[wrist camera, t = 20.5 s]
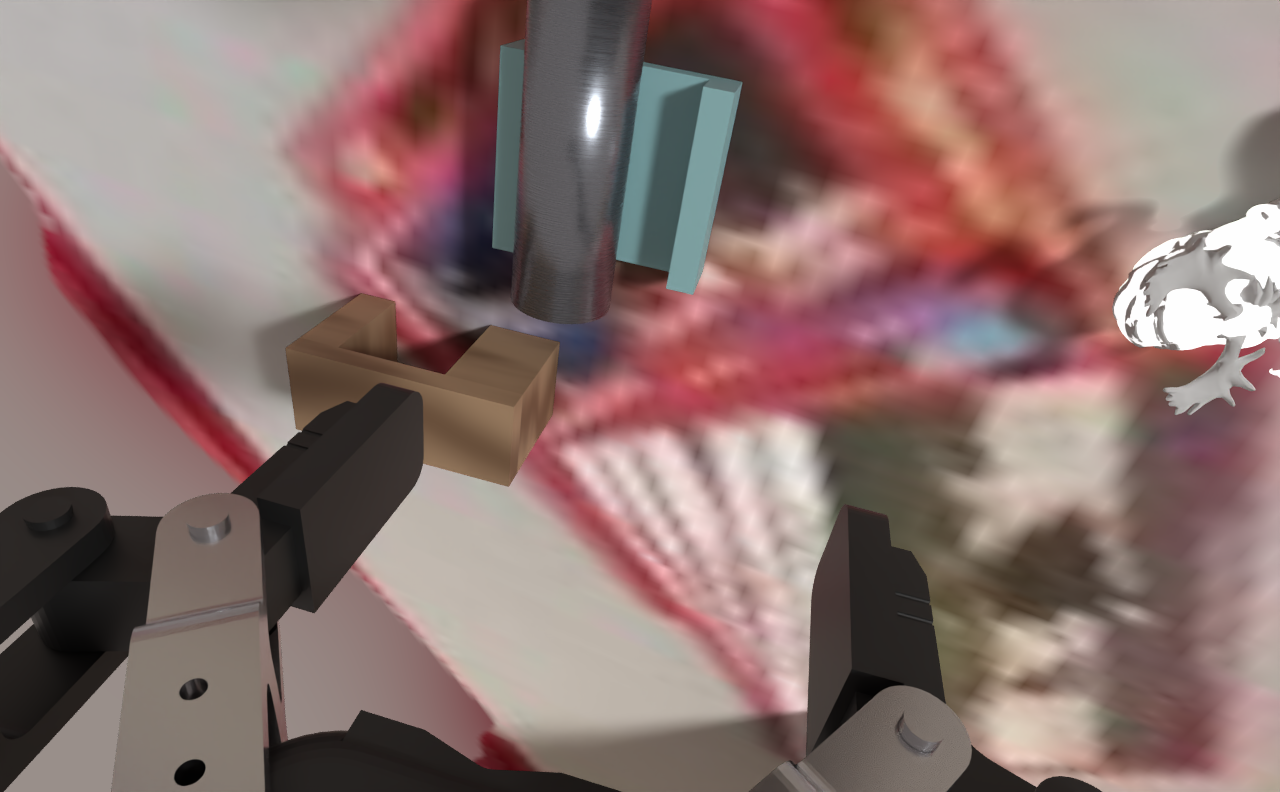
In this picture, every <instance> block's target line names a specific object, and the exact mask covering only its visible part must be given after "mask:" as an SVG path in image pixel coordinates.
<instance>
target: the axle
mask: <svg viewBox="0 0 1280 792" xmlns="http://www.w3.org/2000/svg"><path fill="white" fill-rule="evenodd" d="M651 3H652V0H527V14H526V32H525V50H524V68H523V86H522V104H521V122H520V140H519V158H518V176H517V194H516V212H515V230H514V248H513V266H512V284H511V301H512V303H513V304H514V306H515V307H516V308H517V309H518V310H520V311H521V312H523V313H525V314H527V315H529V316H531V317H533V318H536V319H539V320H543V321H547V322H552V323H560V324H580V323H587V322H591V321H595V320H597V319H600V318H601V317H603V316H604V315H605V314H606V313H607V312H608V311H609V308H610V301H611V293H612V286H613V279H614V271H615V264H616V257H617V250H618V242H619V235H620V228H621V221H622V213H623V206H624V199H625V192H626V184H627V177H628V170H629V163H630V155H631V148H632V141H633V134H634V126H635V119H636V112H637V105H638V97H639V90H640V83H641V76H642V68H643V61H644V54H645V46H646V39H647V32H648V25H649V17H650V10H651Z"/></svg>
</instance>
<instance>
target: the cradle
mask: <svg viewBox="0 0 1280 792" xmlns="http://www.w3.org/2000/svg"><path fill="white" fill-rule="evenodd" d="M524 50H525V39H522V40H519V41H515V42H511V43H508V44H504V45H501V46H500V70H499V95H498V119H497V144H496V168H495V193H494V217H493V242H492V248H496V249H500V250H504V251H509V252H513V248H514V230H515V212H516V194H517V176H518V158H519V140H520V122H521V104H522V86H523V68H524ZM741 87H742V82H740V81H735V80H730V79H725V78H720V77H715V76H710V75H705V74H700V73H695V72H690V71H685V70H680V69H675V68H670V67H665V66H661V65H656V64H651V63H646V62H643V68H642V76H641V83H640V90H639V97H638V105H637V112H636V119H635V126H634V134H633V141H632V148H631V155H630V163H629V170H628V177H627V184H626V192H625V199H624V206H623V213H622V221H621V228H620V235H619V242H618V250H617V257H616V260H620V261H624V262H629V263H633V264H637V265H642V266H646V267H650V268H655V269H659V270H663V271H668V272H669V276H668V281H667V287H666V289H671V290H675V291H679V292H683V293H688V294H692V295H693V293H694V291H695V289H696V286H697V284H698V281H699V279H700V276H701V274H702V272H703V267H704V262H705V258H706V253H707V248H708V243H709V239H710V234H711V229H712V224H713V220H714V215H715V210H716V205H717V201H718V196H719V191H720V186H721V182H722V177H723V172H724V167H725V163H726V158H727V153H728V149H729V144H730V139H731V134H732V130H733V125H734V120H735V115H736V111H737V106H738V101H739V96H740V92H741Z"/></svg>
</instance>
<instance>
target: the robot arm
mask: <svg viewBox="0 0 1280 792" xmlns="http://www.w3.org/2000/svg"><path fill="white" fill-rule="evenodd" d="M423 460H424V432H423V399H422V396H421V394H420V393H419V392H416V391H413V390H409V389H405V388H401V387H397V386H393V385H390V384H386V383H378V384H377V385H375V386H374V387H373V388H372V389H371V390H370V391H369V392H368V393H367V394H366V395H365V396H363V397H362V398H361V399H360V400H359V401H358V402H357V403H354V402H350V401H345V402H343V403H341V404H339V405H336V406H334V407H332V408H330V409H328V410H325V411H323V412H321V413H320V414H319V415H317V416H316V417H315V418H314V419H313V420H312V421H311V422H310V423H309V424H307V425H306V426H305V427H304V428H303V430H302V432H301V433H300V432H298V433H297V434H296V435H295V436H294V437H293V438H292V439H291V440H290V441H288V444H287V446H283V447H282V448H281V449H279V450H278V451H277V452H276V453H275V454H274V455H273V456H272V457H271V458H269V459H268V460H267V461H266V462H265V463H264V464H263V465H262V466H261V467H259V468H258V469H257V470H256V471H255V472H254V473H253V474H252V475H250V476H249V477H248V478H247V479H246V480H245V481H244V482H243V483H242V484H240V485H239V486H238V487H237V488H236V489H235V490H234V491H233V492H232V493H216V494H215V493H214V494H208V495H202V496H199V497H195V498H192V499H190V500H187V501H185V502H183V503H181V504H179V505H177V506H176V507H174V508H173V509H171V510H170V511H169V512H168V513H167V514H166V515H165V516H164V517H145V516H143V517H142V516H110V513H109V510H108V507H107V504H106V501H105V499H104V498H103V497H102V496H101V495H100V494H99V493H97V492H95V491H93V490H90V489H85V488H79V487H66V488H56V489H51V490H46V491H42V492H39V493H36V494H33V495H30V496H28V497H25V498H23V499H21V500H19V501H17V502H15V503H14V504H12V505H11V506H9V507H8V508H6V509H5V510H3V511H2V512H1V513H0V644H2V643H3V642H4V641H5V640H6V639H7V638H8V637H9V636H10V635H11V634H13V633H14V632H15V631H16V630H17V629H18V628H19V627H20V626H21V625H23V624H24V623H25V622H26V621H27V620H28V619H29V618H32V621H33V623H34V624H33V625H32V626H31V627H30V628H29V629H28V630H27V631H25V632H24V633H23V634H22V635H21V636H20V637H19V638H18V639H17V640H16V641H14V642H13V643H12V644H11V645H10V646H9V647H8V648H7V649H6V650H5V651H3V652H2V653H1V654H0V792H4V791H5V790H6V789H7V787H8V786H9V785H10V784H11V783H12V782H13V781H14V780H15V779H16V778H17V776H18V775H19V774H20V773H21V772H22V771H23V770H24V769H25V768H26V767H27V766H28V765H29V763H30V762H31V761H32V760H33V759H34V758H35V757H36V756H37V755H38V754H39V753H40V751H41V750H42V749H43V748H44V747H45V746H46V745H47V744H48V743H49V742H50V740H51V739H52V738H53V737H54V736H55V735H56V734H57V733H58V732H59V731H60V730H61V729H62V727H63V726H64V725H65V724H66V723H67V722H68V721H69V720H70V719H71V718H72V717H73V715H74V714H75V713H76V712H77V711H78V710H79V709H80V708H81V707H82V706H83V704H84V703H85V702H86V701H87V700H88V699H89V698H90V697H91V696H92V695H93V694H94V693H95V691H96V690H97V689H98V688H99V687H100V686H101V685H102V684H103V683H104V682H105V681H106V679H107V678H108V677H109V676H110V675H111V674H112V673H113V672H114V671H115V670H116V668H117V667H118V666H119V665H120V664H121V663H122V662H123V661H124V660H125V659H126V658H127V657H128V663H127V671H126V679H125V686H124V694H123V702H122V710H121V718H120V726H119V734H118V742H117V749H116V757H115V765H114V772H113V780H112V788H111V792H621V791H618V790H615V789H611V788H608V787H605V786H602V785H599V784H595V783H592V782H589V781H586V780H583V779H579V778H576V777H573V776H570V775H567V774H564V773H554V772H532V771H511V770H492V769H486V768H483V767H481V766H479V765H477V764H476V763H474V762H473V761H471V760H470V759H468V758H467V757H465V756H464V755H462V754H461V753H459V752H458V751H456V750H454V749H453V748H451V747H450V746H448V745H447V744H445V743H444V742H442V741H441V740H439V739H438V738H436V737H435V736H433V735H432V734H430V733H429V732H427V731H426V730H423V729H420V728H416V727H414V726H410V725H407V724H404V723H400V722H398V721H395V720H391V719H388V718H385V717H382V716H378V715H375V714H372V713H368V712H366V711H363V710H361V711H360V713H359V714H358V716H357V717H356V719H355V721H354V722H353V724H352V725H351V727H350V729H349V730H348V731H330V732H320V733H314V734H309V735H304V736H301V737H297V738H294V739H291V740H288V736H287V726H286V715H285V699H284V683H283V667H282V650H281V635H280V625H279V619H280V618H281V617H282V616H283V614H284V613H285V612H286V611H287V610H288V609H289V607H290V606H292V607H296V608H299V609H302V610H306V611H309V612H312V613H315V612H316V611H317V610H318V608H319V607H320V606H321V604H322V603H323V602H324V601H325V599H326V598H327V597H328V595H329V594H330V593H331V592H332V590H333V589H334V588H335V587H336V585H337V584H338V583H339V582H340V580H341V579H342V578H343V576H344V575H345V574H346V573H347V571H348V570H349V569H350V568H351V566H352V565H353V564H354V562H355V561H356V560H357V559H358V557H359V556H360V555H361V554H362V552H363V551H364V550H365V549H366V547H367V546H368V545H369V543H370V542H371V541H372V540H373V538H374V537H375V536H376V535H377V533H378V532H379V531H380V529H381V528H382V527H383V526H384V524H385V523H386V522H387V521H388V519H389V518H390V517H391V515H392V514H393V513H394V512H395V510H396V509H397V508H398V507H399V505H400V504H401V503H402V501H403V500H404V499H405V498H406V496H407V495H408V494H409V493H410V491H411V490H412V489H413V487H414V486H415V484H416V482H417V480H418V478H419V476H420V473H421V470H422V466H423ZM929 603H930V596H929V589H928V583H927V576H926V574H925V573H924V571H923V570H922V568H921V566H920V565H919V563H918V562H917V560H916V558H915V557H914V555H913V554H912V552H911V551H907V550H904V549H900V548H896V547H892V546H891V540H890V530H889V521H888V517H887V515H884V514H880V513H876V512H873V511H869V510H865V509H861V508H857V507H853V506H850V505H846V504H845V505H844V506H843V507H842V508H841V510H840V512H839V515H838V517H837V520H836V522H835V525H834V527H833V530H832V532H831V535H830V537H829V540H828V542H827V545H826V547H825V550H824V552H823V555H822V557H821V560H820V563H819V565H818V568H817V572H816V575H815V579H814V584H813V590H812V599H811V626H810V656H809V685H808V714H807V743H806V758H805V759H803V760H802V761H801V762H799V763H798V764H796V765H795V764H794V763H793V762H792V761H787V762H785V763H783V764H781V765H780V766H778V767H777V768H776V769H775V770H773V771H772V772H771V773H770V774H769V775H768V776H766V777H765V778H764V779H763V780H762V781H761V782H759V783H758V784H757V785H756V786H755V787H754V788H753V789H751V790H750V791H749V792H1102V791H1100V790H1099V789H1097V788H1095V787H1094V786H1092V785H1090V784H1088V783H1086V782H1083V781H1081V780H1078V779H1074V778H1071V777H1063V776H1058V777H1051V778H1048V779H1046V780H1044V781H1043V782H1041V783H1040V784H1039V786H1038V787H1035V786H1033V785H1032V784H1030V783H1028V782H1027V781H1025V780H1023V779H1021V778H1020V777H1018V776H1016V775H1015V774H1013V773H1011V772H1009V771H1008V770H1006V769H1004V768H1003V767H1001V766H999V765H997V764H996V763H994V762H993V761H991V760H990V759H988V758H986V757H985V756H984V755H983V754H981V753H980V752H979V751H978V750H976V749H975V748H974V747H973V746H972V745H971V742H970V738H969V735H968V733H967V731H966V729H965V727H964V725H963V723H962V722H961V720H960V719H959V718H958V716H957V715H956V714H955V713H954V712H953V711H952V710H951V709H950V708H949V707H948V706H947V705H946V702H945V697H944V690H943V683H942V676H941V670H940V663H939V656H938V650H937V643H936V636H935V630H934V626H932V623H933V616H932V609H931V605H929Z"/></svg>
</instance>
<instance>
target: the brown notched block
mask: <svg viewBox="0 0 1280 792" xmlns="http://www.w3.org/2000/svg"><path fill="white" fill-rule="evenodd" d="M559 344H560V342H557V341H553V340H549V339H545V338H540V337H536V336H532V335H528V334H524V333H520V332H516V331H512V330H508V329H504V328H500V327H496V326H492V325H490V326H489V327H488V328H487V330H486V331H485V332H484V333H483V334H482V335H481V336H480V337H479V338H478V339H477V340H476V341H475V343H474V344H473V345H472V346H471V347H470V348H469V349H468V350H467V351H466V352H465V353H464V354H463V356H462V357H461V358H460V359H459V360H458V361H457V362H456V363H455V364H454V365H453V366H452V368H451V369H450V370H449V371H448V372H447V373H446V374H445V375H444V374H441V373H437V372H433V371H429V370H425V369H421V368H417V367H413V366H409V365H405V364H402V363H398V362H397V336H396V309H395V301H391V300H386V299H382V298H378V297H374V296H370V295H366V294H362V293H361V294H360V295H358V296H357V297H356V298H354V299H353V300H351V301H350V302H349V303H347V304H346V305H345V306H343V307H342V308H340V309H339V310H338V311H336V312H335V313H333V314H332V315H331V316H329V317H328V318H326V319H325V320H324V321H322V322H321V323H320V324H318V325H317V326H315V327H314V328H313V329H311V330H310V331H308V332H307V333H306V334H304V335H303V336H301V337H300V338H299V339H297V340H296V341H295V342H293V343H292V344H290V345H289V346H288V347H286V348H285V349H286V357H287V364H288V372H289V379H290V387H291V394H292V402H293V409H294V417H295V424H296V429H298V430H303V428H304V427H305V426H306V425H307V424H309V423H310V422H311V421H312V420H313V419H314V418H315V417H316V416H317V415H319V414H320V413H321V412H323V411H325V410H328V409H330V408H332V407H334V406H336V405H339V404H341V403H343V402H345V401H350V402H354V403H357V402H358V401H359V400H360V399H361V398H362V397H363V396H365V395H366V394H367V393H368V392H369V391H370V390H371V389H372V388H373V387H374V386H375V385H377V384H378V383H386V384H390V385H393V386H397V387H401V388H405V389H409V390H413V391H416V392H419V393H420V394H421V396H422V399H423V432H424V460H423V464H427V465H430V466H434V467H438V468H442V469H445V470H449V471H453V472H456V473H460V474H464V475H467V476H471V477H475V478H478V479H482V480H486V481H489V482H493V483H497V484H500V485H504V486H508V487H509V485H510V484H511V482H512V480H513V479H514V477H515V475H516V474H517V472H518V471H519V469H520V467H521V466H522V464H523V462H524V461H525V459H526V457H527V456H528V454H529V453H530V451H531V449H532V448H533V446H534V444H535V443H536V441H537V439H538V438H539V436H540V434H541V433H542V431H543V430H544V428H545V426H546V425H547V423H548V421H549V420H550V418H551V416H552V413H553V403H554V393H555V383H556V374H557V364H558V354H559Z"/></svg>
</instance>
